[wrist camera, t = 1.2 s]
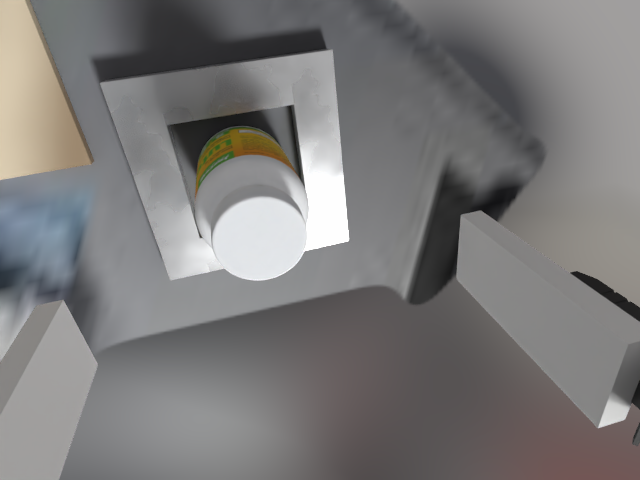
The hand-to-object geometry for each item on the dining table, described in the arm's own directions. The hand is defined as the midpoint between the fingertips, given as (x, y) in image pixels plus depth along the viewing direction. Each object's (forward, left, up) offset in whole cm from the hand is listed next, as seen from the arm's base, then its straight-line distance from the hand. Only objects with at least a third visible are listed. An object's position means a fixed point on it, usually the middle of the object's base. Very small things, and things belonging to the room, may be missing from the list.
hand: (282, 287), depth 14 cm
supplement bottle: (0, 0, -14) cm, 13 cm away
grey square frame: (0, 0, -13) cm, 13 cm away
